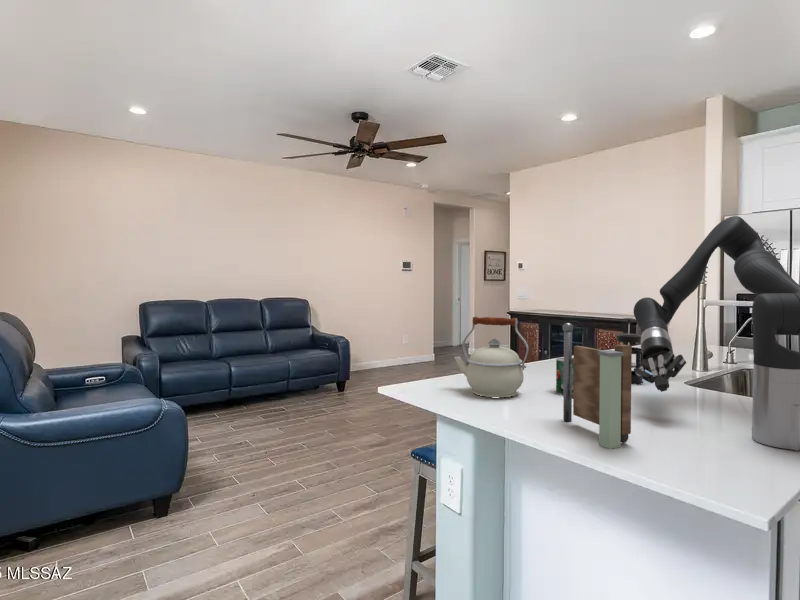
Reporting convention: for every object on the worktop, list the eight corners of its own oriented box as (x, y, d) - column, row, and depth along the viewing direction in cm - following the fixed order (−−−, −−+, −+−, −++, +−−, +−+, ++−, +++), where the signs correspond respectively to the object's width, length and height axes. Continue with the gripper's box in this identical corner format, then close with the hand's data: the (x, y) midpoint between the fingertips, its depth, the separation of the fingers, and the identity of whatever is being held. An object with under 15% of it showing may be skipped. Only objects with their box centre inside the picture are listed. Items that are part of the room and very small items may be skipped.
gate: (567, 421, 116) (568, 337, 115) (575, 420, 117) (576, 337, 116) (621, 444, 99) (622, 346, 98) (630, 443, 100) (632, 345, 99)
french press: (606, 379, 167) (607, 317, 167) (627, 377, 170) (627, 316, 170) (632, 386, 156) (633, 319, 155) (653, 384, 159) (654, 319, 158)
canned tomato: (552, 390, 152) (553, 357, 151) (576, 390, 151) (576, 357, 151) (560, 396, 144) (560, 361, 143) (585, 396, 143) (585, 361, 143)
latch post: (597, 443, 101) (597, 350, 100) (610, 441, 102) (611, 350, 101) (609, 449, 97) (610, 353, 97) (622, 447, 99) (623, 352, 98)
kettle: (535, 391, 150) (535, 316, 149) (519, 404, 135) (519, 320, 134) (464, 383, 163) (464, 314, 162) (443, 394, 147) (442, 317, 146)
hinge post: (575, 421, 117) (575, 322, 116) (567, 422, 116) (568, 323, 115) (567, 418, 120) (567, 322, 119) (560, 420, 118) (560, 322, 117)
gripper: (688, 348, 124) (698, 392, 110) (638, 363, 131) (642, 405, 118) (675, 328, 122) (683, 370, 108) (626, 344, 130) (628, 385, 116)
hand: (662, 388), depth 113 cm, fingers closed
